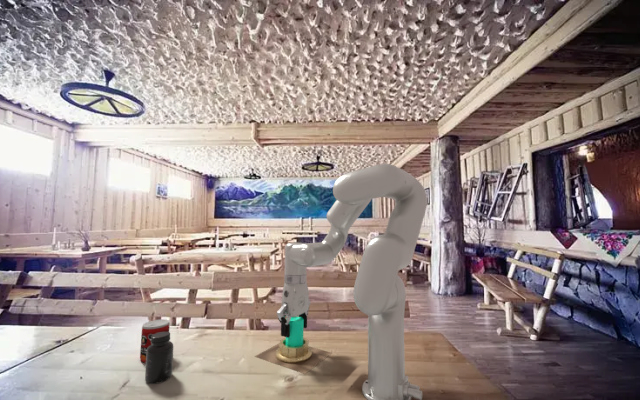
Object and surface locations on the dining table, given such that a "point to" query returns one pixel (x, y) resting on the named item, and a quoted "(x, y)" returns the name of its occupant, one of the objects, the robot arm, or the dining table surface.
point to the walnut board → (299, 367)
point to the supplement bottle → (159, 358)
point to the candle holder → (293, 352)
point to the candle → (295, 332)
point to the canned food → (148, 331)
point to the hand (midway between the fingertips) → (294, 331)
